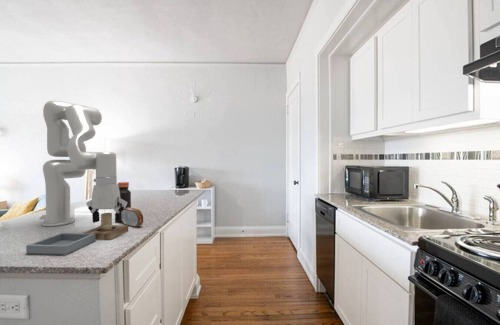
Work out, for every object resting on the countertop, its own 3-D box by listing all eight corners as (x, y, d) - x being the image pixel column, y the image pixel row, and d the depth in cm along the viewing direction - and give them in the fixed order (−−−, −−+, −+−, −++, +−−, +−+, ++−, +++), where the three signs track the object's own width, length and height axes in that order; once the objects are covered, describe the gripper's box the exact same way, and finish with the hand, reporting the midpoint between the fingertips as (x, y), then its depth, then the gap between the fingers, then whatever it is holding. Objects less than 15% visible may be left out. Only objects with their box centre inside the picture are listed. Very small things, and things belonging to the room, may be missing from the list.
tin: (143, 227, 114) (143, 209, 114) (137, 228, 112) (137, 210, 112) (125, 222, 123) (125, 206, 122) (119, 224, 120) (119, 207, 120)
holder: (82, 239, 97) (82, 232, 97) (102, 230, 109) (102, 224, 109) (111, 239, 96) (111, 233, 96) (128, 231, 108) (128, 225, 108)
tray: (26, 254, 81) (26, 245, 81) (61, 240, 95) (61, 232, 95) (65, 255, 80) (65, 246, 80) (95, 241, 94) (95, 233, 94)
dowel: (98, 236, 101) (98, 214, 101) (105, 233, 105) (105, 212, 105) (108, 236, 100) (107, 214, 100) (114, 233, 104) (114, 212, 104)
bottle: (125, 223, 121) (124, 183, 121) (112, 222, 122) (112, 183, 122) (133, 220, 128) (133, 182, 127) (122, 219, 129) (122, 181, 129)
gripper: (80, 182, 99) (80, 224, 99) (120, 182, 98) (121, 224, 98) (93, 180, 107) (93, 219, 107) (131, 180, 105) (131, 220, 105)
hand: (107, 222), depth 102 cm, fingers open, 9 cm apart
